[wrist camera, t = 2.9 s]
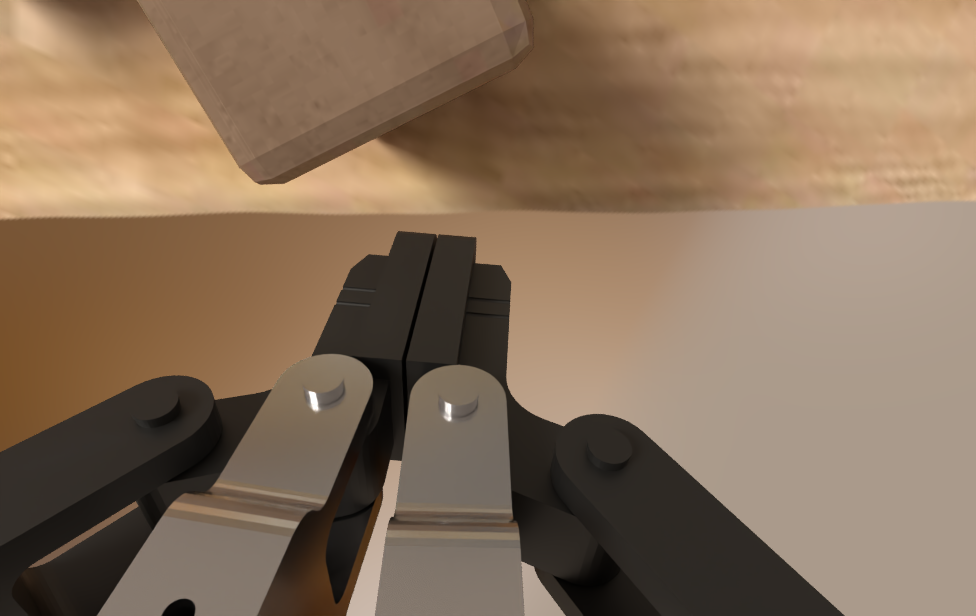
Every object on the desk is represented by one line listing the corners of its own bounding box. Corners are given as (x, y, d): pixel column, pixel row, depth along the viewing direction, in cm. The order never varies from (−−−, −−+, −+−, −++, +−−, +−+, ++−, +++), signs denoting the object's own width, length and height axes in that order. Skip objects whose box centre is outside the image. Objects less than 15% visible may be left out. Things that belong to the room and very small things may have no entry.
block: (367, 140, 36) (245, 203, 17) (280, -25, 33) (14, -168, 14) (512, 68, 34) (550, 51, 16) (438, -113, 31) (375, -404, 13)
